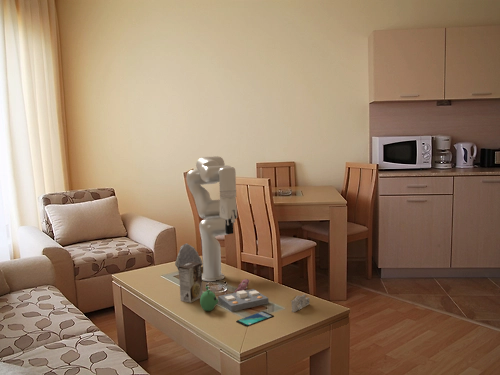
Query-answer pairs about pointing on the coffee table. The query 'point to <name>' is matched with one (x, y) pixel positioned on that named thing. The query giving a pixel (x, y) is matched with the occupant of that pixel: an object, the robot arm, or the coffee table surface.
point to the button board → (243, 301)
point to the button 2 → (253, 293)
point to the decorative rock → (187, 256)
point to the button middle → (241, 294)
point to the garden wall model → (298, 300)
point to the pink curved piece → (243, 285)
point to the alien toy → (208, 300)
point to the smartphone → (254, 318)
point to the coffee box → (190, 281)
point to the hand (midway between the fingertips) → (229, 233)
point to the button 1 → (229, 298)
